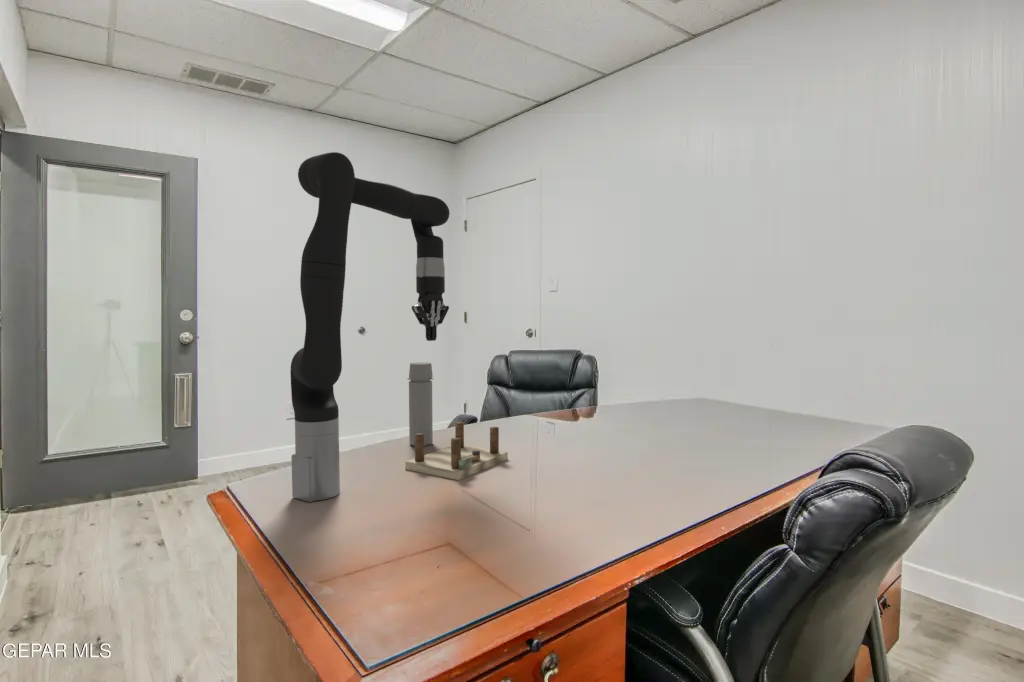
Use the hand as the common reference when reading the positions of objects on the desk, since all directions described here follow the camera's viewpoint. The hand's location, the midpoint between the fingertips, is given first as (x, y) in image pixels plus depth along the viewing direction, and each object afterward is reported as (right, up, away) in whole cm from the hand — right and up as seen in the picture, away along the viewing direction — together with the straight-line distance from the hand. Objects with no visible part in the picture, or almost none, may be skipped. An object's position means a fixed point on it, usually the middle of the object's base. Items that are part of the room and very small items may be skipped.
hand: (431, 340), depth 148 cm
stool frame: (+7, -33, 0) cm, 34 cm away
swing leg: (+10, -31, -7) cm, 34 cm away
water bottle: (-6, -32, +22) cm, 40 cm away
